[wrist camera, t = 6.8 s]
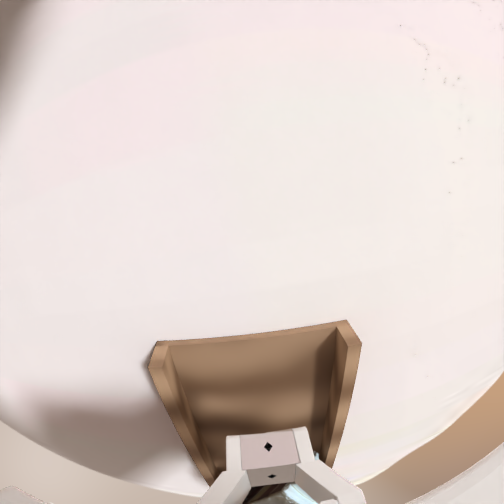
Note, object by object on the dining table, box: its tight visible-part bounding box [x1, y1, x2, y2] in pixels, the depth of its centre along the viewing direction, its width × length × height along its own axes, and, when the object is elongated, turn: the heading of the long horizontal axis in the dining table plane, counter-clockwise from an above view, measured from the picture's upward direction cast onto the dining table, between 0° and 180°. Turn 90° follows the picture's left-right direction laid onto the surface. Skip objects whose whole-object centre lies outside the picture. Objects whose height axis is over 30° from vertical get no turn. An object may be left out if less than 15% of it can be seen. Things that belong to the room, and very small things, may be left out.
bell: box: [242, 451, 319, 504], centre depth 19 cm, size 10×7×12 cm
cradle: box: [148, 320, 362, 487], centre depth 21 cm, size 22×14×3 cm, turn 5°
